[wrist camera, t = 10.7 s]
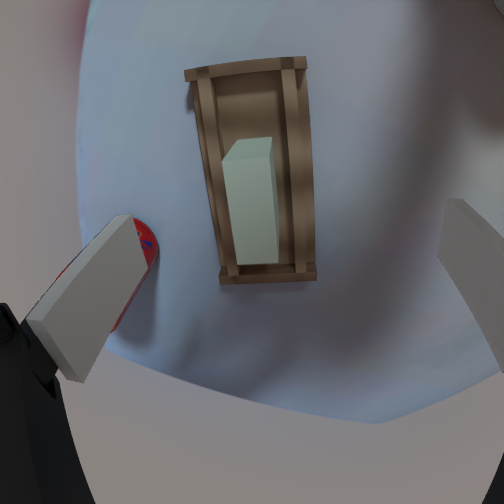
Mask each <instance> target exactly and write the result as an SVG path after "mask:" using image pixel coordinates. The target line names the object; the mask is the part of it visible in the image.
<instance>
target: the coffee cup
mask: <svg viewBox="0 0 504 504" xmlns="http://www.w3.org/2000/svg"><path fill="white" fill-rule="evenodd" d="M493 1H494V3H495V5H496V7H497V8H498V10H499V11H500V12H501V14H502V15H503V16H504V0H493Z"/></svg>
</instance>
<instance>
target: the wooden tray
mask: <svg viewBox="0 0 504 504" xmlns="http://www.w3.org/2000/svg"><path fill="white" fill-rule="evenodd" d="M306 69H307V61H306V56H298V57H280V58H267V59H256V60H246V61H238V62H230V63H223V64H217V65H210V66H204V67H199V68H193V69H188V70H184V75H185V82H191V84H192V91H193V98H194V105H195V112H196V119H197V126H198V132H199V139H200V145H201V151H202V158H203V164H204V170H205V176H206V182H207V188H208V194H209V200H210V205H211V211H212V217H213V223H214V228H215V234H216V239H217V245H218V250H219V255H220V261H221V266H222V267H221V270H220V274H219V280H220V285H221V284H250V283H275V282H297V281H316V280H317V271H316V265H315V218H314V186H313V163H312V145H311V129H310V115H309V102H308V91H307V80H306ZM263 137H272V140H273V150H274V161H275V172H276V183H277V195H278V207H279V263H265V264H244V265H237V259H236V253H235V246H234V240H233V233H232V227H231V220H230V214H229V207H228V201H227V194H226V187H225V181H224V174H223V167H222V160H223V159H224V157H225V156H226V155H227V153H228V152H229V150H230V149H231V148H232V146H233V145H234V144H235V142H236V141H237V140H241V139H251V138H263Z"/></svg>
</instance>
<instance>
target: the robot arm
mask: <svg viewBox="0 0 504 504" xmlns="http://www.w3.org/2000/svg"><path fill="white" fill-rule="evenodd" d="M437 257H438V258H439V260H440V261H441V263H442V264H443V266H444V267H445V269H446V270H447V272H448V274H449V275H450V277H451V278H452V280H453V281H454V283H455V285H456V286H457V288H458V290H459V291H460V293H461V295H462V296H463V298H464V300H465V301H466V303H467V305H468V306H469V308H470V310H471V312H472V313H473V315H474V317H475V319H476V321H477V322H478V324H479V326H480V328H481V330H482V332H483V334H484V336H485V337H486V339H487V341H488V343H489V345H490V347H491V349H492V351H493V353H494V355H495V358H496V360H497V362H498V364H499V366H500V368H501V370H502V373H504V238H503V237H502V236H501V235H500V234H499V233H498V232H497V231H496V230H495V229H494V228H493V227H492V226H491V225H490V224H489V223H488V222H487V221H486V220H485V219H484V218H482V217H481V216H480V215H479V214H478V213H477V212H476V211H475V210H474V209H473V208H472V207H471V206H469V205H468V204H467V203H466V202H465V201H464V200H463V199H447V206H446V212H445V218H444V224H443V229H442V235H441V240H440V245H439V249H438V254H437ZM147 269H148V266H147V263H146V260H145V257H144V253H143V250H142V247H141V244H140V240H139V237H138V234H137V230H136V227H135V224H134V220H133V217H132V214H126V215H117V216H116V217H115V218H114V219H113V220H112V221H111V222H110V223H109V224H108V225H107V226H106V227H105V228H104V229H103V230H102V231H101V232H100V233H99V234H98V235H97V236H96V237H95V238H94V239H93V240H92V241H91V243H90V244H89V245H88V246H87V247H86V248H85V249H84V250H83V251H82V252H81V253H80V254H79V255H78V257H77V258H76V259H75V260H74V261H73V262H72V263H71V264H70V265H69V267H68V268H67V269H66V270H65V271H64V272H63V273H62V275H61V276H60V277H59V278H58V279H57V280H56V281H55V282H54V283H53V284H52V285H51V286H50V288H49V289H48V290H47V291H46V293H45V294H44V295H43V296H42V297H41V299H40V301H38V302H37V303H36V305H35V306H34V307H33V308H32V310H31V311H30V312H29V313H28V315H27V316H26V317H25V319H24V320H23V321H22V322H21V324H19V323H18V321H17V320H16V318H15V316H14V315H13V313H12V311H11V310H10V308H9V306H8V305H7V304H6V303H0V504H96V503H95V501H94V499H93V496H92V494H91V491H90V489H89V486H88V483H87V481H86V478H85V475H84V473H83V470H82V467H81V464H80V461H79V458H78V455H77V451H76V448H75V445H74V442H73V438H72V435H71V431H70V427H69V423H68V419H67V415H66V411H65V407H64V403H63V398H62V393H61V388H60V383H59V381H58V379H57V377H56V376H55V373H56V372H57V370H58V368H59V370H60V371H61V372H62V373H63V375H64V376H65V377H66V379H67V380H71V381H75V382H80V383H84V382H85V380H86V378H87V376H88V374H89V372H90V370H91V368H92V366H93V364H94V362H95V360H96V358H97V357H98V355H99V353H100V351H101V349H102V347H103V345H104V343H105V342H106V340H107V338H108V336H109V334H110V332H111V331H112V329H113V327H114V325H115V324H116V322H117V320H118V318H119V316H120V315H121V313H122V311H123V309H124V308H125V306H126V304H127V303H128V301H129V299H130V297H131V296H132V294H133V292H134V291H135V289H136V287H137V286H138V284H139V282H140V281H141V279H142V277H143V276H144V274H145V272H146V271H147ZM482 504H504V453H503V456H502V459H501V461H500V464H499V466H498V469H497V471H496V474H495V476H494V478H493V481H492V483H491V485H490V487H489V490H488V492H487V494H486V496H485V498H484V500H483V502H482Z"/></svg>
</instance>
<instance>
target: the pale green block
mask: <svg viewBox="0 0 504 504" xmlns="http://www.w3.org/2000/svg"><path fill="white" fill-rule="evenodd" d="M222 167H223V174H224V181H225V187H226V194H227V201H228V207H229V214H230V220H231V227H232V233H233V240H234V246H235V253H236V259H237V265H244V264H265V263H279V207H278V195H277V183H276V172H275V161H274V150H273V140H272V137H263V138H251V139H241V140H237V141H236V142H235V144H234V145H233V146H232V148H231V149H230V150H229V152H228V153H227V155H226V156H225V157H224V159H223V160H222Z"/></svg>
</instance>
